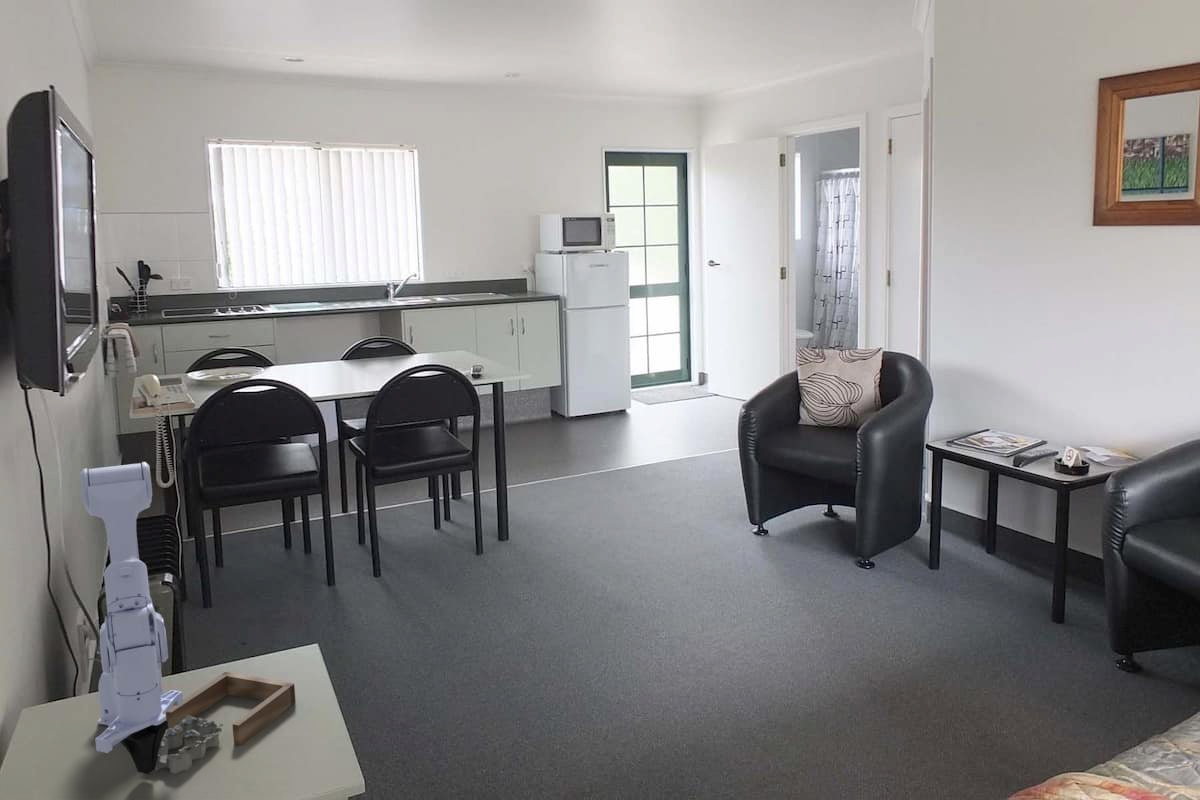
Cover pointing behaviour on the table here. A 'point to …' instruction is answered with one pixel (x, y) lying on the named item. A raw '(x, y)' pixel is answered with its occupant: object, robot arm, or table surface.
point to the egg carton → (187, 743)
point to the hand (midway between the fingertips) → (146, 770)
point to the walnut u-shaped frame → (271, 691)
